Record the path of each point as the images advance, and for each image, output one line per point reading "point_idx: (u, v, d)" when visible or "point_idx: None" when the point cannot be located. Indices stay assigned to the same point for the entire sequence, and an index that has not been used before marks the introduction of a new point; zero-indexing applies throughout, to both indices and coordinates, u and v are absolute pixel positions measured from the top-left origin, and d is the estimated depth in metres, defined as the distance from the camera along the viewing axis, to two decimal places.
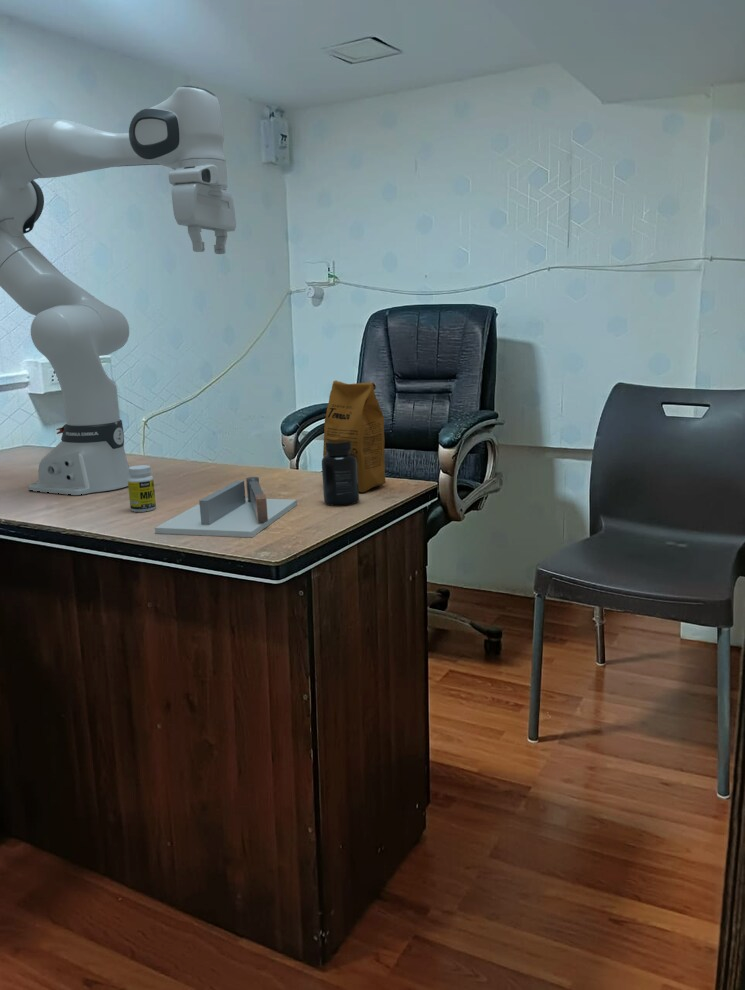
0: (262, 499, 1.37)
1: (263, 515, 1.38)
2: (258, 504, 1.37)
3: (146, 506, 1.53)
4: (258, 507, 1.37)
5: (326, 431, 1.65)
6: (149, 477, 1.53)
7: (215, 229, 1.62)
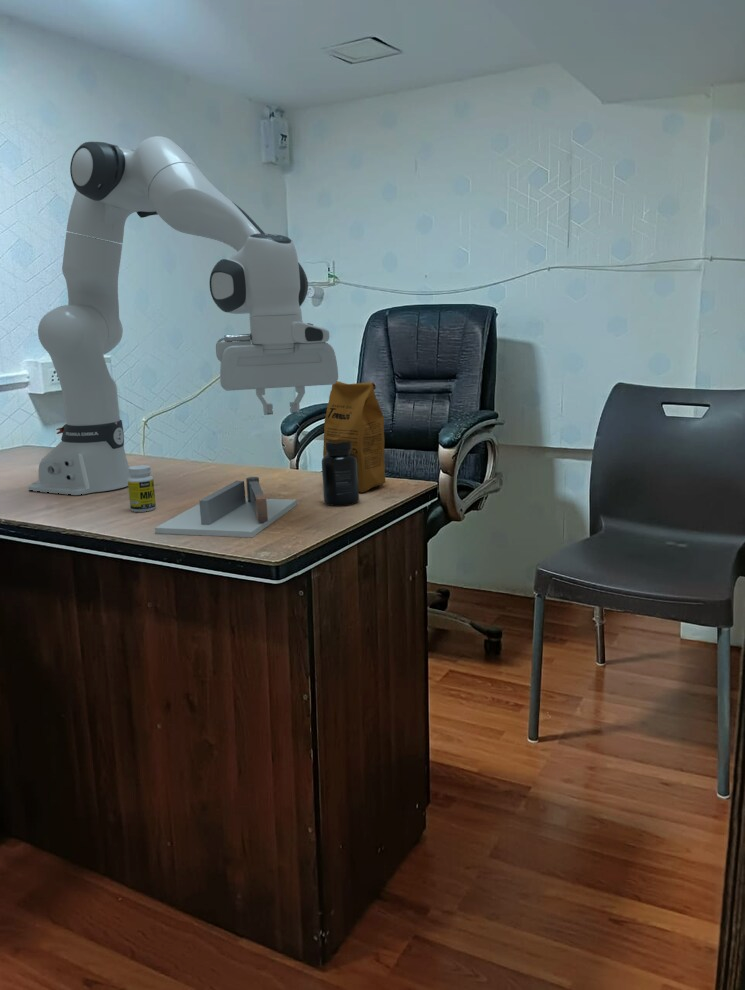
0: (262, 499, 1.37)
1: (263, 515, 1.38)
2: (258, 504, 1.37)
3: (146, 506, 1.53)
4: (258, 507, 1.37)
5: (326, 431, 1.65)
6: (149, 477, 1.53)
7: None
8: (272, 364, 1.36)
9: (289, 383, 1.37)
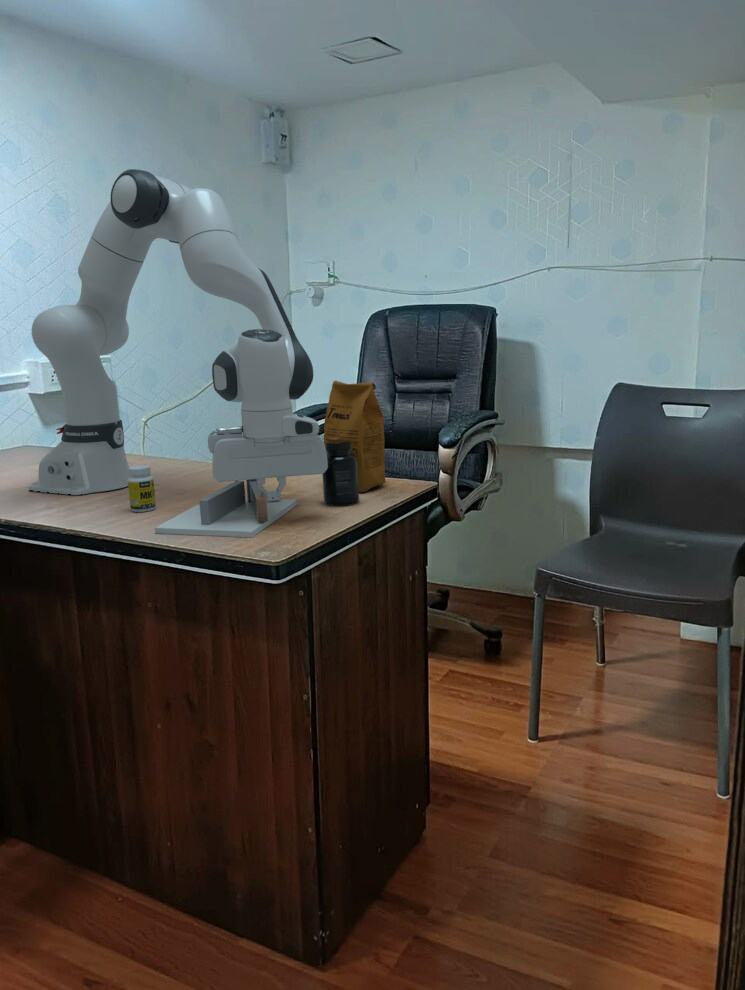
0: (262, 499, 1.37)
1: (263, 515, 1.38)
2: (258, 504, 1.37)
3: (146, 506, 1.53)
4: (258, 507, 1.37)
5: (326, 431, 1.65)
6: (149, 477, 1.53)
7: None
8: (263, 456, 1.39)
9: (280, 474, 1.40)
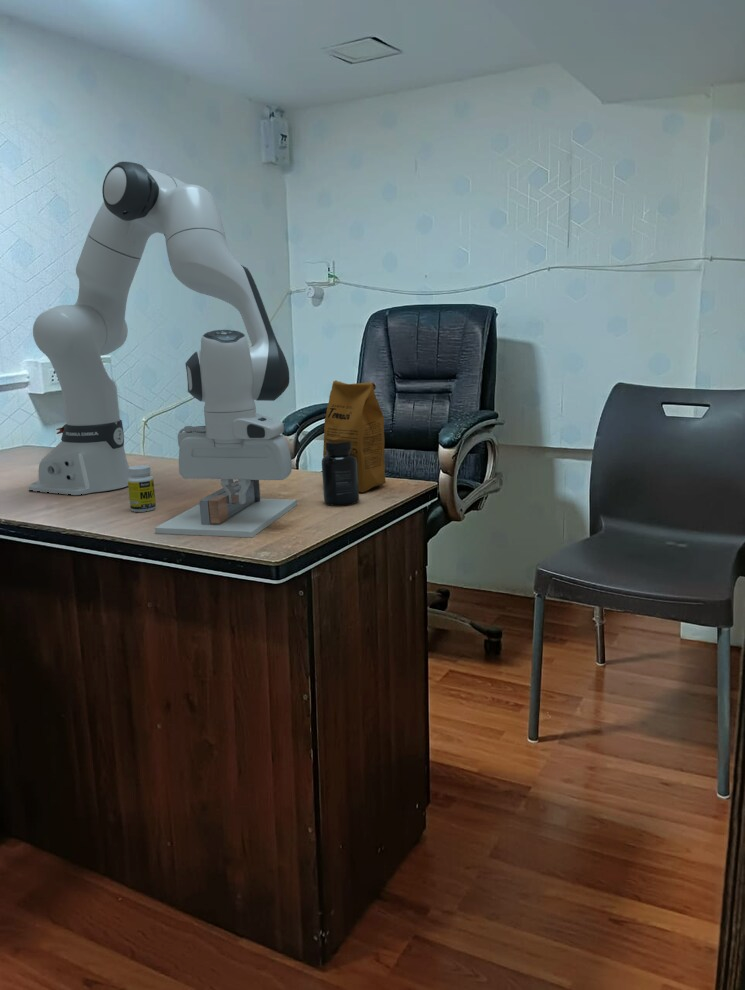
0: (214, 501, 1.37)
1: (215, 516, 1.38)
2: (210, 505, 1.38)
3: (146, 506, 1.53)
4: (210, 508, 1.38)
5: (326, 431, 1.65)
6: (149, 477, 1.53)
7: None
8: (223, 457, 1.39)
9: (238, 476, 1.39)
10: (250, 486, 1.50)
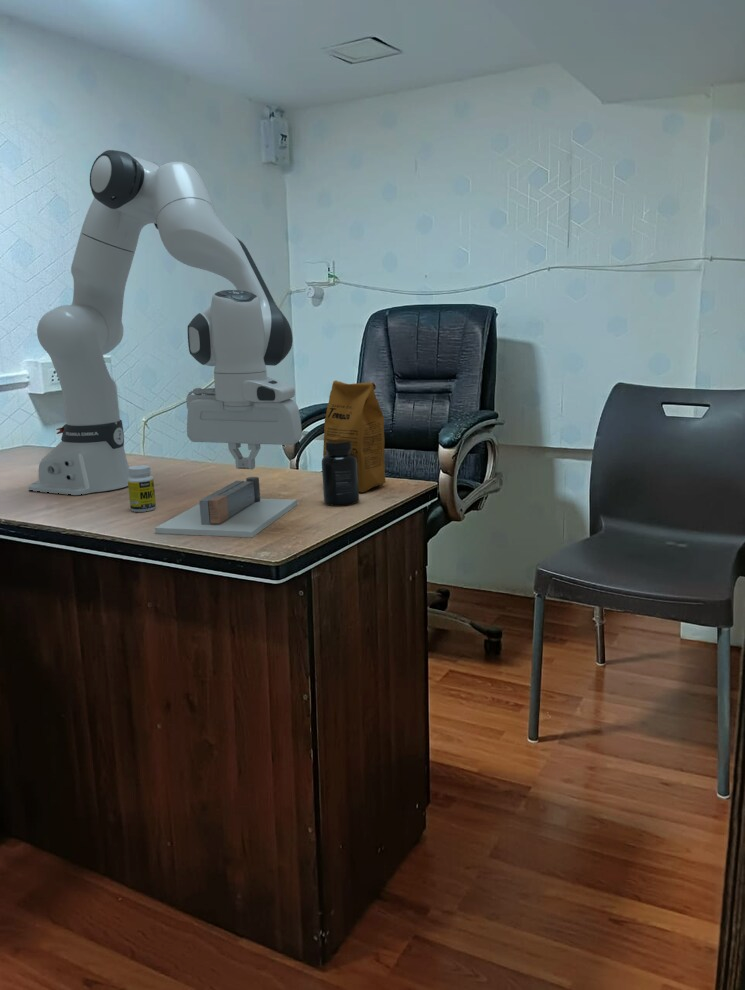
0: (214, 501, 1.37)
1: (215, 516, 1.38)
2: (210, 505, 1.38)
3: (146, 506, 1.53)
4: (210, 508, 1.38)
5: (326, 431, 1.65)
6: (149, 477, 1.53)
7: None
8: (232, 420, 1.36)
9: (247, 440, 1.36)
10: (250, 486, 1.50)
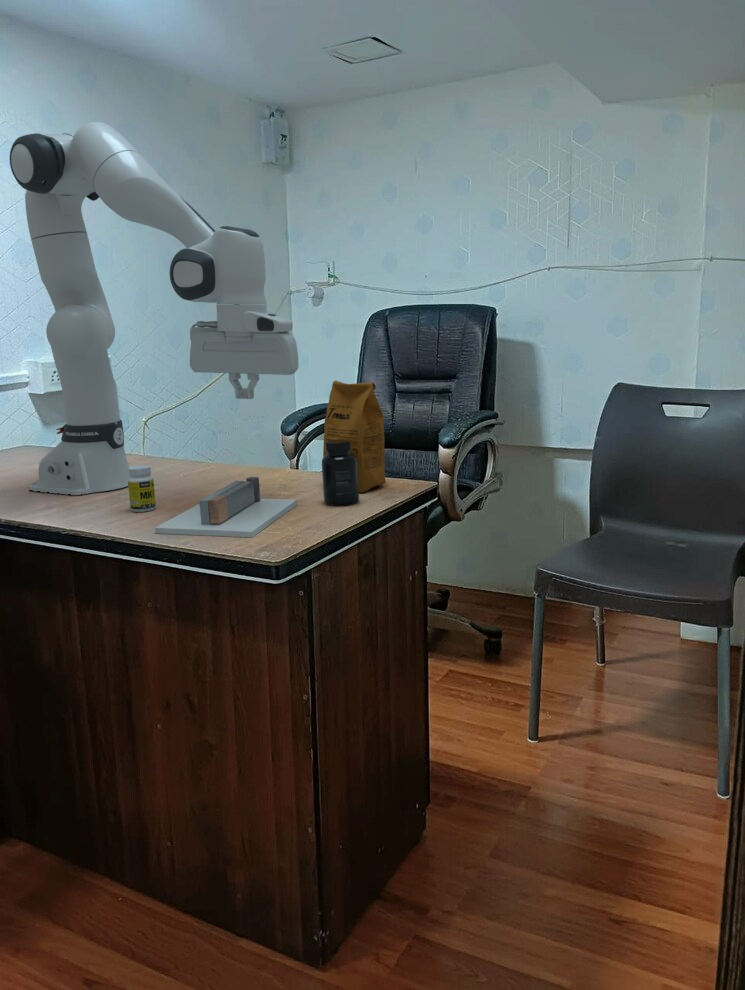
0: (214, 501, 1.37)
1: (215, 516, 1.38)
2: (210, 505, 1.38)
3: (146, 506, 1.53)
4: (210, 508, 1.38)
5: (326, 431, 1.65)
6: (149, 477, 1.53)
7: None
8: (233, 351, 1.44)
9: (246, 370, 1.44)
10: (250, 486, 1.50)
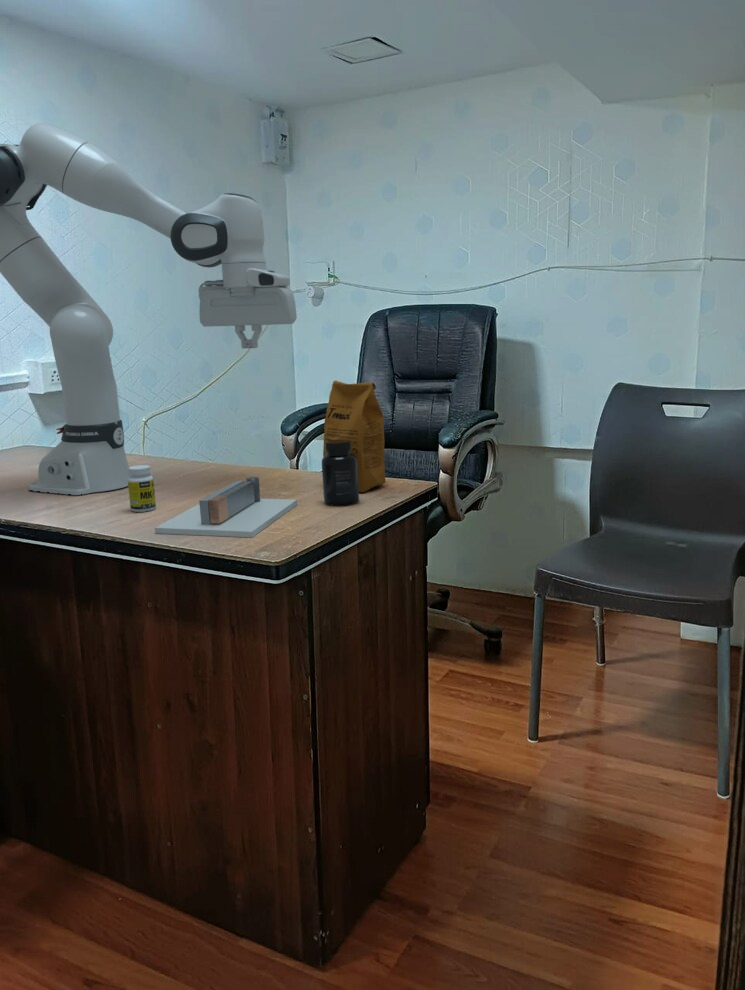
0: (214, 501, 1.37)
1: (215, 516, 1.38)
2: (210, 505, 1.38)
3: (146, 506, 1.53)
4: (210, 508, 1.38)
5: (326, 431, 1.65)
6: (149, 477, 1.53)
7: None
8: (238, 305, 1.62)
9: (251, 322, 1.62)
10: (250, 486, 1.50)
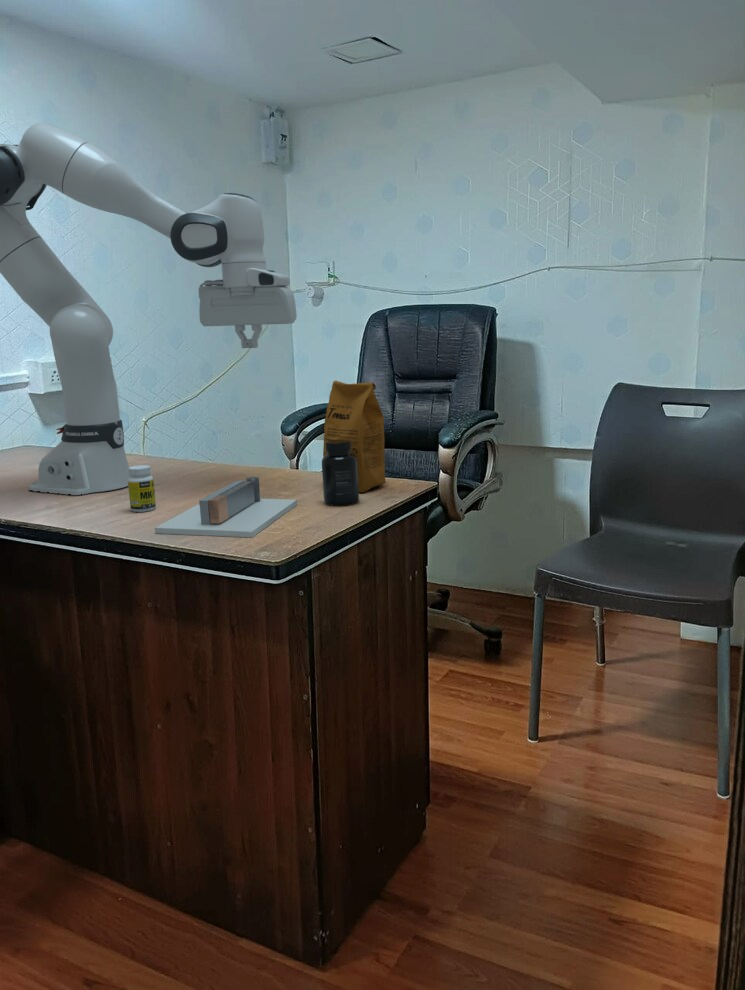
0: (214, 501, 1.37)
1: (215, 516, 1.38)
2: (210, 505, 1.38)
3: (146, 506, 1.53)
4: (210, 508, 1.38)
5: (326, 431, 1.65)
6: (149, 477, 1.53)
7: None
8: (238, 305, 1.62)
9: (251, 321, 1.62)
10: (250, 486, 1.50)
